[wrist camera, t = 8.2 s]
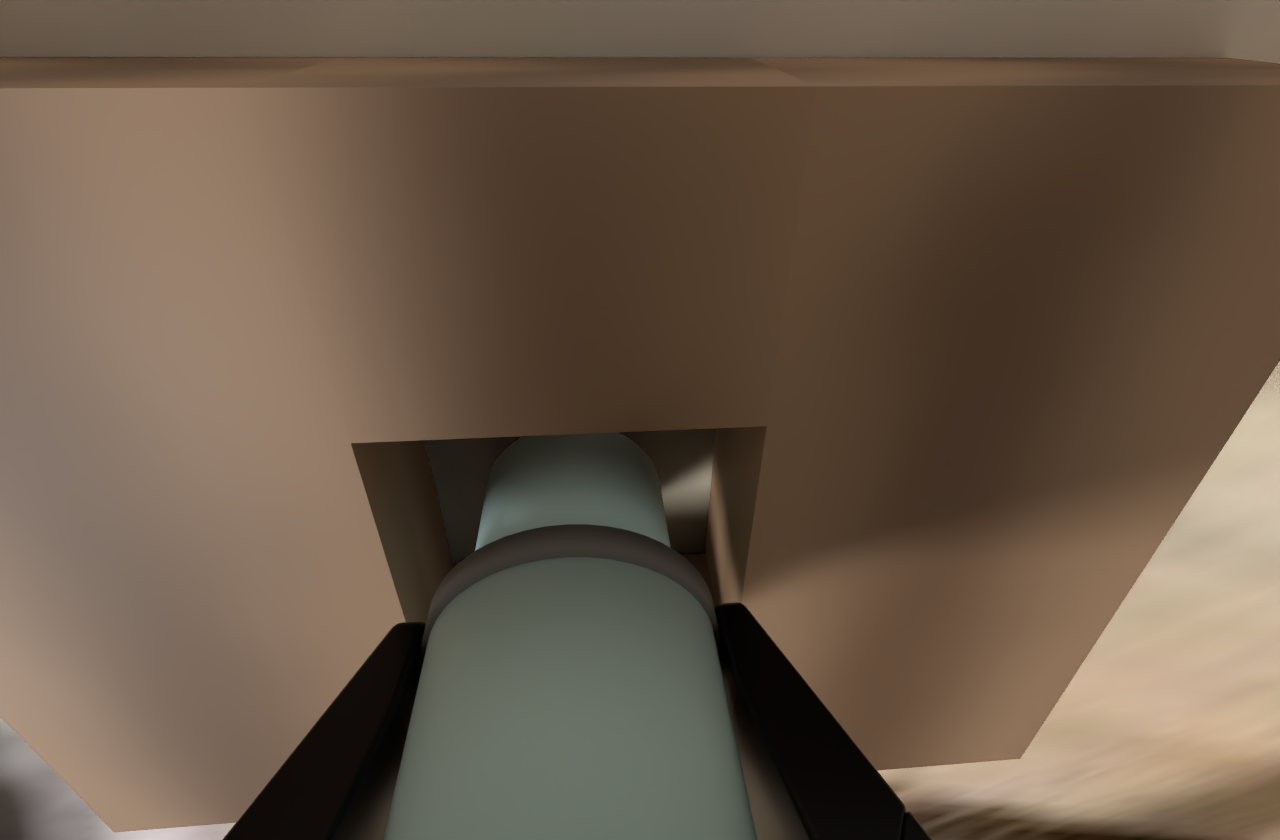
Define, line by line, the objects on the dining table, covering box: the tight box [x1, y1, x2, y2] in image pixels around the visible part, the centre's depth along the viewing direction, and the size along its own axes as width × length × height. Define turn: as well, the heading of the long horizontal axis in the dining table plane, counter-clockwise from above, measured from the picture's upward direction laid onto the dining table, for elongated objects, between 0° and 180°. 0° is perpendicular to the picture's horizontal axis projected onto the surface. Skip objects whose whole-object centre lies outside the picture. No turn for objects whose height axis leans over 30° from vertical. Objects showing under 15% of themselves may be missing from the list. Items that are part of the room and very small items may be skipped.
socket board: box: [0, 57, 1280, 832], centre depth 11 cm, size 20×14×3 cm
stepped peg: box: [383, 432, 757, 840], centre depth 9 cm, size 4×4×8 cm
